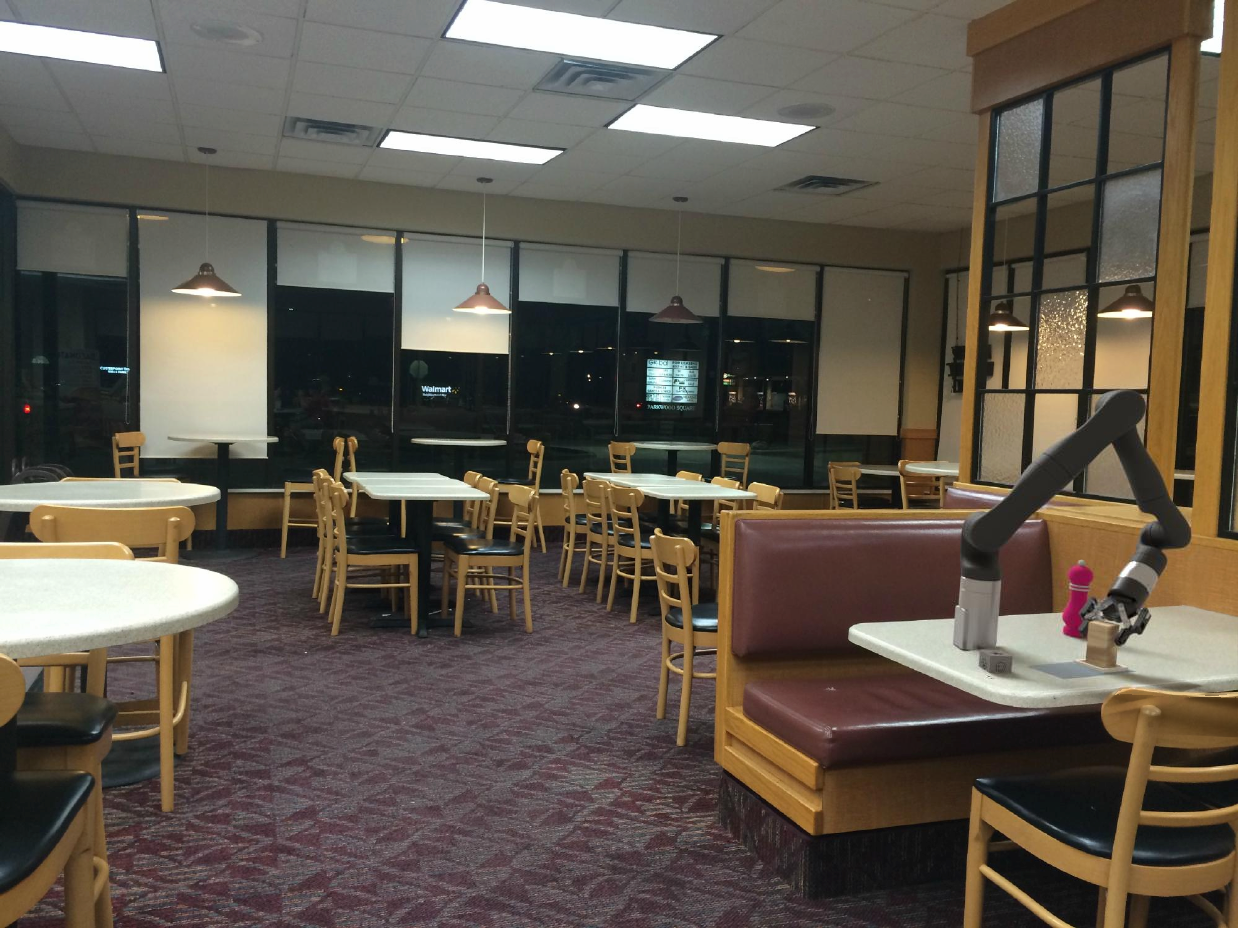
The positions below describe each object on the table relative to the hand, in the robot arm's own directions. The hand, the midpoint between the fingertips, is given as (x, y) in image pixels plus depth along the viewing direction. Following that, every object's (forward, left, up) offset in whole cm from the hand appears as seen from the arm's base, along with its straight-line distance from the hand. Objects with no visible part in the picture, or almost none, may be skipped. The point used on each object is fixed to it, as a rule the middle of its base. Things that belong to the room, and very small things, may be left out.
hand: (1099, 639), depth 216 cm
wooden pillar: (+1, +1, -6) cm, 7 cm away
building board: (-4, -2, -8) cm, 9 cm away
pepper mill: (+14, +37, -8) cm, 41 cm away
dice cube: (-25, -6, -8) cm, 27 cm away
